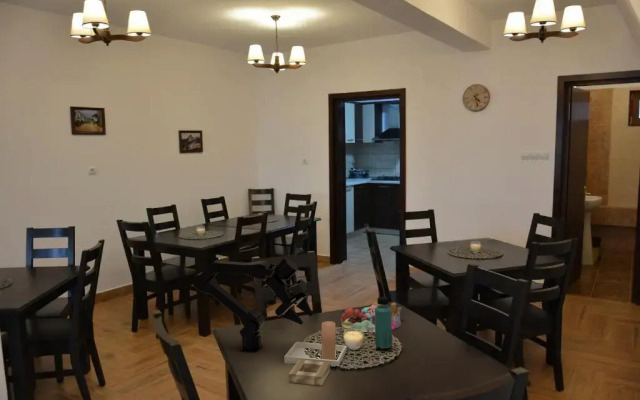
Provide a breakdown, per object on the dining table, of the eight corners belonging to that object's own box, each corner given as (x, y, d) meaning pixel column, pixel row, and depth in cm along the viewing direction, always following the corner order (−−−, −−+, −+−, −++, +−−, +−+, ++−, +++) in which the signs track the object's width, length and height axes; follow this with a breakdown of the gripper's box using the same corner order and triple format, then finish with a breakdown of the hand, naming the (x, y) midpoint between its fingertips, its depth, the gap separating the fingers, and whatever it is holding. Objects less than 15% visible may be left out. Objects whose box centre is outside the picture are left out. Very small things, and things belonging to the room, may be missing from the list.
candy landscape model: (363, 311, 236) (363, 292, 235) (409, 320, 223) (409, 300, 222) (334, 328, 216) (333, 307, 215) (383, 339, 202) (382, 317, 201)
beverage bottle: (391, 352, 189) (391, 300, 187) (374, 351, 190) (373, 300, 188) (392, 345, 195) (392, 295, 193) (375, 344, 197) (374, 294, 194)
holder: (289, 382, 168) (288, 373, 167) (299, 367, 178) (299, 359, 178) (321, 385, 165) (321, 377, 164) (330, 370, 175) (329, 362, 175)
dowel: (323, 361, 181) (323, 326, 180) (320, 355, 186) (320, 321, 185) (336, 360, 182) (336, 325, 181) (334, 354, 187) (333, 320, 186)
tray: (284, 363, 182) (284, 356, 182) (296, 347, 196) (296, 341, 195) (338, 368, 177) (338, 361, 177) (346, 352, 190) (346, 345, 190)
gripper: (281, 281, 179) (311, 314, 176) (303, 268, 196) (330, 298, 193) (262, 300, 183) (291, 333, 180) (285, 286, 200) (312, 316, 197)
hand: (307, 319), depth 187 cm, fingers open, 9 cm apart
